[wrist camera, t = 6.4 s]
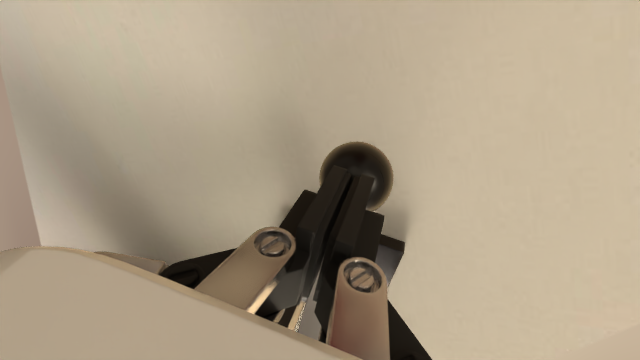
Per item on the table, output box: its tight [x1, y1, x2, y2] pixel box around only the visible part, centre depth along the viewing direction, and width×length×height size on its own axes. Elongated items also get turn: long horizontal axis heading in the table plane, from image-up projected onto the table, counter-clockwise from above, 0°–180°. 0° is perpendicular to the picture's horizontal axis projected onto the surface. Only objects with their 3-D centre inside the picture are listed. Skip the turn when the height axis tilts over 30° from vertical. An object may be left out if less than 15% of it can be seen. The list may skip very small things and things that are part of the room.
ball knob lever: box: [298, 142, 393, 341], centre depth 15 cm, size 17×3×3 cm, turn 170°
